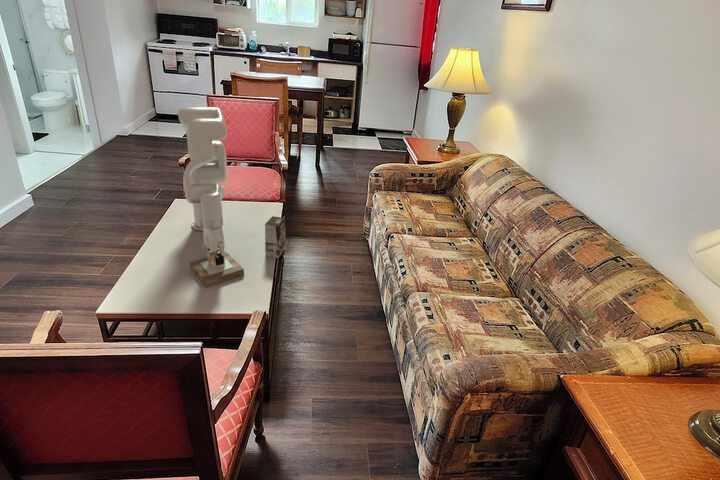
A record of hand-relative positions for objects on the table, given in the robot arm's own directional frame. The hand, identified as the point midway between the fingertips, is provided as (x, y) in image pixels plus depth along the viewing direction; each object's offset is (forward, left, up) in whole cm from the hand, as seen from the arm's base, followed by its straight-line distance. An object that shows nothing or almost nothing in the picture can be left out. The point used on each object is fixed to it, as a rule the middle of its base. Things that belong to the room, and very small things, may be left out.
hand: (216, 260), depth 175 cm
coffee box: (-1, +28, -6) cm, 29 cm away
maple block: (0, 0, -2) cm, 2 cm away
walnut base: (0, 0, -6) cm, 6 cm away
